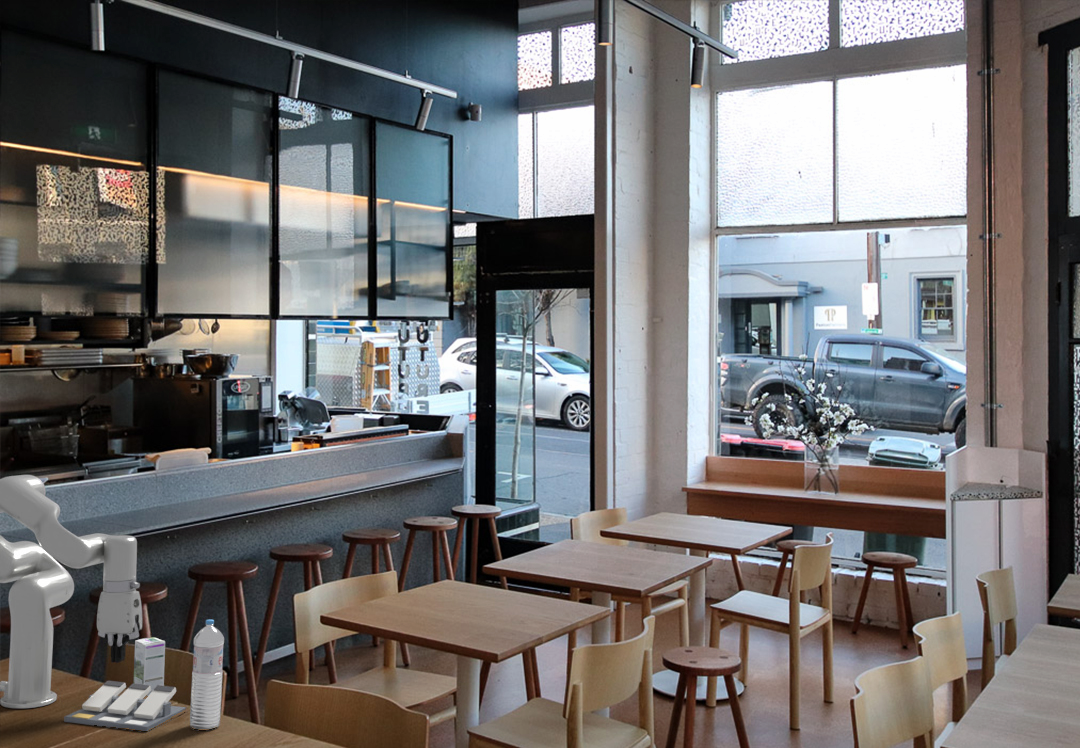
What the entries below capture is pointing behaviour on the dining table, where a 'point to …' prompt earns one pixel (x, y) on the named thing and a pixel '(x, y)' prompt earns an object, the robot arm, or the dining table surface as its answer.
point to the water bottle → (207, 678)
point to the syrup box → (149, 662)
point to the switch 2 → (155, 702)
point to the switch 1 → (104, 696)
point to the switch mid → (129, 699)
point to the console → (122, 717)
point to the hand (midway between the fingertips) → (117, 661)
